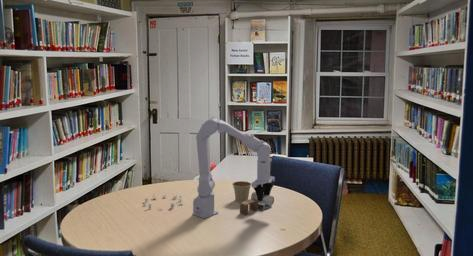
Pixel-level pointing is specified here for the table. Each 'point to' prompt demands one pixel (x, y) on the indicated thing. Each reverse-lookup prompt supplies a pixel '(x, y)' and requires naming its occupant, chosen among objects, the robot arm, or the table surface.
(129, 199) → the table surface
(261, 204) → the v block
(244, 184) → the flower pot
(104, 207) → the table surface
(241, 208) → the brown wooden u-shaped block
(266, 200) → the grey metal cylinder
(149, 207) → the game piece set
